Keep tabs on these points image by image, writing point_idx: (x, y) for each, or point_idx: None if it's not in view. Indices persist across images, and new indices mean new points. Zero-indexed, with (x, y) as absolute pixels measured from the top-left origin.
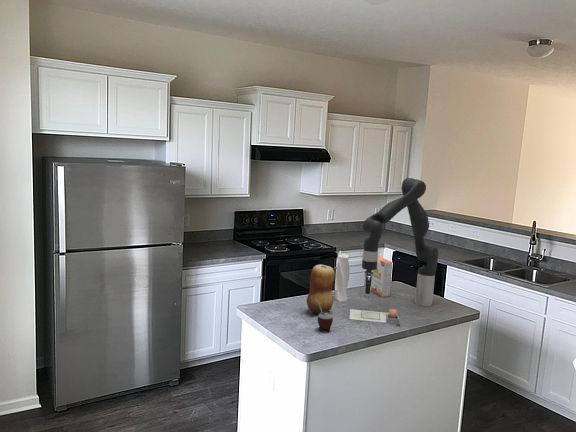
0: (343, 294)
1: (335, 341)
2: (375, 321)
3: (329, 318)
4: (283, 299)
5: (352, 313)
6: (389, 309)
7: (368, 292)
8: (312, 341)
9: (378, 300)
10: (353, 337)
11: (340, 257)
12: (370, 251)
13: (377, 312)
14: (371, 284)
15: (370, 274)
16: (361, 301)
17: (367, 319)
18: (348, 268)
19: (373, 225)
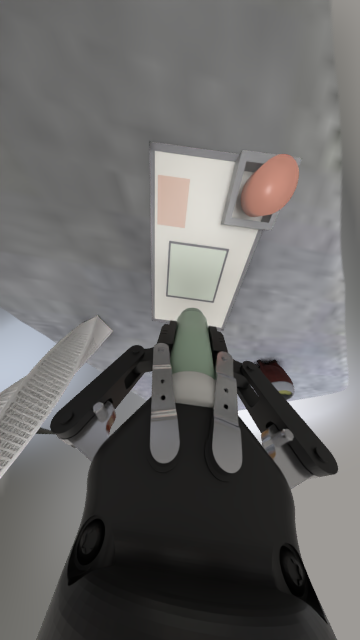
0: (93, 336)
1: (323, 357)
2: (241, 267)
3: (293, 387)
4: (135, 392)
5: None
6: (257, 211)
7: (222, 336)
8: (307, 380)
9: (18, 216)
10: (318, 329)
11: None
12: None
13: (160, 246)
14: (200, 350)
15: (290, 488)
16: (70, 280)
17: (224, 288)
18: (5, 409)
19: None
